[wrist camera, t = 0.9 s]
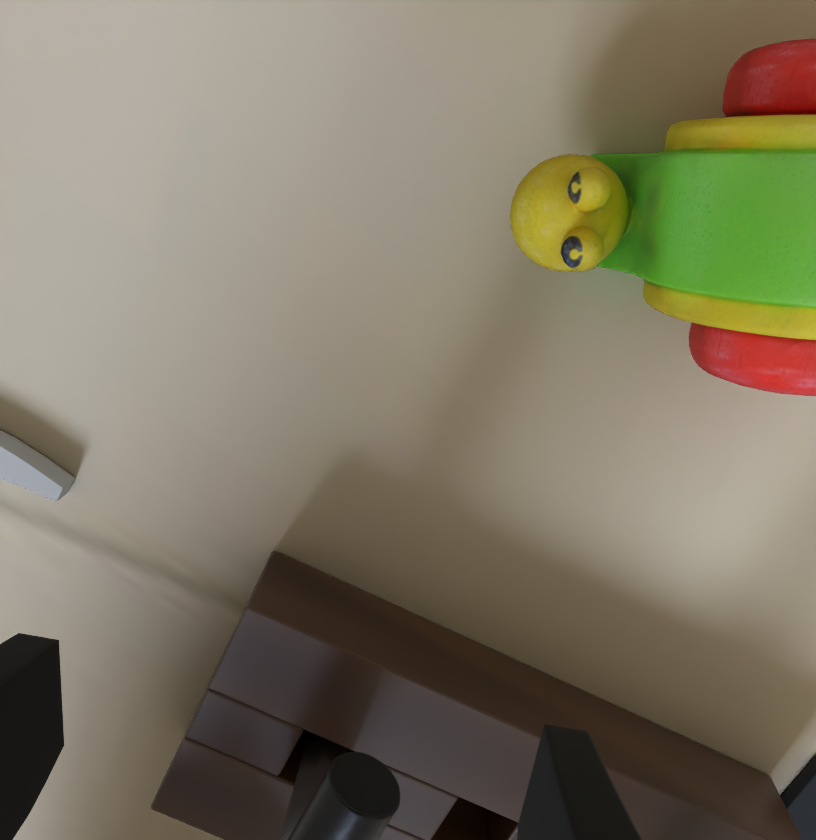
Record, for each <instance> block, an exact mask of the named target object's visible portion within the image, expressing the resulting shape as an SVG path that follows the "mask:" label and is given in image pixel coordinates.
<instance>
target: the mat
mask: <svg viewBox="0 0 816 840" xmlns="http://www.w3.org/2000/svg"><path fill="white" fill-rule="evenodd" d="M781 799H782V801H783V803H784V805H785V807H786V809H787V811H788V813H789V815H790V817H791V819H792V821H793V823H794V825H795V827H796V829H797V831H798V833H799V835H800V837H801V839H802V840H816V756H815V757H814V758H813V759H812V761H811V762H810V763H809V764H808V765H807V766H806V768H805V769H804V770H803V771H802V772H801V774H800V775H799V776H798V777H797V778H796V780H795V781H794V782H793V783H792V784H791V785H790V787H789V788H788V789H787V790H786V791H785V793H784V794H783V795H782V796H781Z"/></svg>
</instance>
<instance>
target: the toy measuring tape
mask: <svg viewBox="0 0 816 840" xmlns="http://www.w3.org/2000/svg"><path fill="white" fill-rule="evenodd" d="M722 110H723V112H724V114H725V115H726V117H723V118H709V119H695V120H686V121H680V122H677V123H674V124H673V125H671V126H670V127H669V129H668V131H667V134H666V140H665V147H664V150H663V151H662V152H660V153H632V154H593V155H592V156H591V157H589V156H585V155H571V154H567V155H561V156H557V157H554V158H551V159H548V160H545V161H543V162H542V163H540V164H538V165H537V166H536V167H534V168H533V169H532V170H531V171H530V172H529V173H528V174H527V175H526V176H525V177H524V178H523V180H522V181H521V182H520V184H519V186H518V188H517V190H516V192H515V194H514V197H513V200H512V204H511V213H510V220H511V228H512V232H513V236H514V238H515V241H516V243H517V245H518V246H519V247H520V248H521V250H522V251H523V252H524V253H525V254H526V255H527V256H528V257H529V258H530V259H531V260H532V261H534V262H535V263H537V264H539V265H541V266H543V267H545V268H548V269H551V270H555V271H579V272H580V271H588V270H590V269H593V268H595V267H596V266H598V267H605V268H609V269H614V270H619V271H623V272H627V273H631V274H634V275H637V276H639V277H642V278H644V299H645V302H646V303H648V304H649V305H650V306H652V307H653V308H655V309H656V310H658V311H660V312H662V313H664V314H667V315H669V316H672V317H675V318H678V319H681V320H684V321H688V322H692V323H691V328H690V333H689V347H690V351H691V354H692V357H693V359H694V360H695V362H696V363H697V364H698V366H699V367H701V368H702V369H703V370H705V371H706V372H708V373H709V374H712V375H714V376H716V377H719V378H721V379H724V380H727V381H730V382H733V383H736V384H738V385H742V386H746V387H751V388H755V389H759V390H764V391H769V392H775V393H781V394H793V395H805V396H816V39H805V40H794V41H785V42H780V43H775V44H770V45H767V46H764V47H760V48H755V49H753V50H751V51H749V52H747V53H745V54H744V55H743V56H742V57H741V58H740V59H739V60H738V61H737V62H736V63H735V64H734V65H733V67H732V68H731V70H730V72H729V74H728V76H727V82H726V87H725V91H724V100H723V109H722Z"/></svg>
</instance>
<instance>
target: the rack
mask: <svg viewBox="0 0 816 840" xmlns="http://www.w3.org/2000/svg"><path fill="white" fill-rule="evenodd" d="M544 724H547V725H553V726H559V727H565V728H570V729H576V730H582V731H587V733H588V734H589V735H590V737H591V738H592V740H593V742H594V744H595V746H596V748H597V751H598V753H599V755H600V757H601V759H602V761H603V763H604V766H605V768H606V770H607V772H608V774H609V776H610V778H611V780H612V782H613V784H614V786H615V788H616V790H617V792H618V794H619V796H620V798H621V800H622V802H623V804H624V806H625V808H626V810H627V812H628V814H629V816H630V818H631V820H632V822H633V823H634V825H635V827H636V829H637V831H638V833H639V835H640V837H641V838H642V840H802V839H801V837H800V835H799V833H798V831H797V829H796V827H795V825H794V823H793V821H792V819H791V817H790V815H789V813H788V811H787V809H786V807H785V805H784V803H783V801H782V799H781V797H780V795H779V793H778V791H777V789H776V787H775V785H774V783H773V781H772V779H771V777H770V776H769V775H767V774H764V773H762V772H760V771H758V770H756V769H753V768H751V767H749V766H747V765H745V764H742V763H740V762H738V761H736V760H734V759H731V758H729V757H727V756H725V755H723V754H720V753H718V752H716V751H714V750H712V749H709V748H707V747H705V746H703V745H701V744H698V743H696V742H694V741H692V740H690V739H687V738H685V737H683V736H681V735H679V734H676V733H674V732H672V731H670V730H668V729H665V728H663V727H661V726H659V725H657V724H655V723H652V722H650V721H648V720H646V719H644V718H641V717H639V716H637V715H635V714H633V713H630V712H628V711H626V710H624V709H622V708H619V707H617V706H615V705H613V704H611V703H608V702H606V701H604V700H602V699H600V698H597V697H595V696H593V695H591V694H589V693H586V692H584V691H582V690H580V689H578V688H575V687H573V686H571V685H569V684H567V683H564V682H562V681H560V680H558V679H556V678H553V677H551V676H549V675H547V674H545V673H542V672H540V671H538V670H536V669H534V668H531V667H529V666H527V665H525V664H523V663H520V662H518V661H516V660H514V659H512V658H509V657H507V656H505V655H503V654H501V653H498V652H496V651H494V650H492V649H490V648H487V647H485V646H483V645H481V644H479V643H477V642H474V641H472V640H470V639H468V638H466V637H463V636H461V635H459V634H457V633H455V632H452V631H450V630H448V629H446V628H444V627H441V626H439V625H437V624H435V623H433V622H430V621H428V620H426V619H424V618H422V617H419V616H417V615H415V614H413V613H411V612H408V611H406V610H404V609H402V608H400V607H397V606H395V605H393V604H391V603H389V602H386V601H384V600H382V599H380V598H378V597H375V596H373V595H371V594H369V593H367V592H364V591H362V590H360V589H358V588H356V587H353V586H351V585H349V584H347V583H345V582H342V581H340V580H338V579H336V578H334V577H331V576H329V575H327V574H325V573H323V572H320V571H318V570H316V569H314V568H312V567H310V566H307V565H305V564H303V563H301V562H299V561H296V560H294V559H292V558H290V557H288V556H285V555H283V554H281V553H279V552H277V551H273V552H272V553H271V555H270V557H269V559H268V561H267V564H266V566H265V568H264V570H263V572H262V574H261V576H260V578H259V580H258V582H257V584H256V587H255V589H254V591H253V593H252V595H251V597H250V599H249V601H248V603H247V605H246V607H245V609H244V612H243V614H242V616H241V618H240V620H239V622H238V624H237V626H236V628H235V630H234V632H233V634H232V637H231V639H230V641H229V643H228V645H227V647H226V649H225V651H224V653H223V655H222V657H221V660H220V662H219V664H218V666H217V668H216V670H215V672H214V674H213V676H212V678H211V680H210V682H209V685H208V687H207V689H206V691H205V693H204V695H203V697H202V699H201V701H200V703H199V705H198V708H197V710H196V712H195V714H194V716H193V718H192V720H191V722H190V724H189V726H188V728H187V730H186V733H185V735H184V737H183V739H182V741H181V743H180V745H179V747H178V749H177V751H176V754H175V756H174V758H173V760H172V762H171V764H170V766H169V768H168V770H167V772H166V775H165V777H164V779H163V781H162V783H161V785H160V787H159V789H158V791H157V793H156V796H155V798H154V800H153V802H152V804H151V809H153V810H155V811H157V812H160V813H162V814H165V815H167V816H169V817H172V818H174V819H177V820H179V821H181V822H184V823H186V824H188V825H191V826H193V827H196V828H198V829H200V830H203V831H205V832H208V833H210V834H212V835H215V836H217V837H220V838H222V839H224V840H280V837H281V833H282V830H283V826H284V822H285V818H286V814H287V811H288V807H289V803H290V799H291V795H292V792H293V788H294V784H295V780H296V776H297V772H298V769H299V765H300V761H301V757H302V753H303V750H304V746H305V742H306V738H307V734H308V731H309V732H311V733H314V734H316V735H318V736H320V737H323V738H325V739H327V740H330V741H332V742H334V743H337V744H339V745H341V746H343V747H346V748H348V751H347V752H361V753H365V754H368V755H370V756H372V757H374V758H376V759H378V760H379V761H380V762H382V763H383V764H384V765H385V766H386V767H387V768H388V769H389V770H390V771H391V772H392V774H393V775H394V777H395V779H396V780H397V783H398V785H399V789H400V804H399V807H398V809H397V811H396V812H395V814H394V815H393V817H392V819H391V820H390V822H389V824H388V825H387V827H386V828H385V830H384V832H383V833H382V835H381V836H380V838H379V840H517V834H518V823H519V819H520V815H521V811H522V807H523V803H524V800H525V796H526V792H527V788H528V784H529V781H530V777H531V773H532V769H533V765H534V762H535V758H536V754H537V750H538V746H539V743H540V739H541V735H542V731H543V727H544Z"/></svg>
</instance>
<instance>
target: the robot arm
mask: <svg viewBox="0 0 816 840" xmlns="http://www.w3.org/2000/svg"><path fill="white" fill-rule="evenodd" d="M63 746H64V735H63V715H62V695H61V676H60V656H59V640H55V639H49V638H44V637H38V636H32V635H26V634H20V633H18V634H17V635H15V636H13V637H12V638H10V639H8V640H7V641H5V642H3V643H2V644H0V840H13V838H14V836H15V835H16V833H17V832H18V830H19V829H20V827H21V826H22V824H23V823H24V821H25V819H26V818H27V816H28V815H29V813H30V811H31V809H32V808H33V806H34V804H35V802H36V800H37V798H38V796H39V794H40V792H41V790H42V788H43V787H44V785H45V783H46V781H47V779H48V777H49V775H50V773H51V771H52V769H53V767H54V765H55V762H56V760H57V758H58V756H59V754H60V752H61V750H62V748H63ZM517 840H642V838H641V837H640V835H639V833H638V831H637V829H636V827H635V825H634V823H633V822H632V820H631V818H630V816H629V814H628V812H627V810H626V808H625V806H624V804H623V802H622V800H621V798H620V796H619V794H618V792H617V790H616V788H615V786H614V784H613V782H612V780H611V778H610V776H609V774H608V772H607V770H606V768H605V766H604V763H603V761H602V759H601V757H600V755H599V753H598V751H597V748H596V746H595V744H594V742H593V740H592V738H591V737H590V735H589V734H588V733H587V731H582V730H576V729H570V728H565V727H559V726H553V725H547V724H544V727H543V731H542V735H541V739H540V743H539V746H538V750H537V754H536V758H535V762H534V765H533V769H532V773H531V777H530V781H529V784H528V788H527V792H526V796H525V800H524V803H523V807H522V811H521V815H520V819H519V823H518V834H517Z"/></svg>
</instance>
